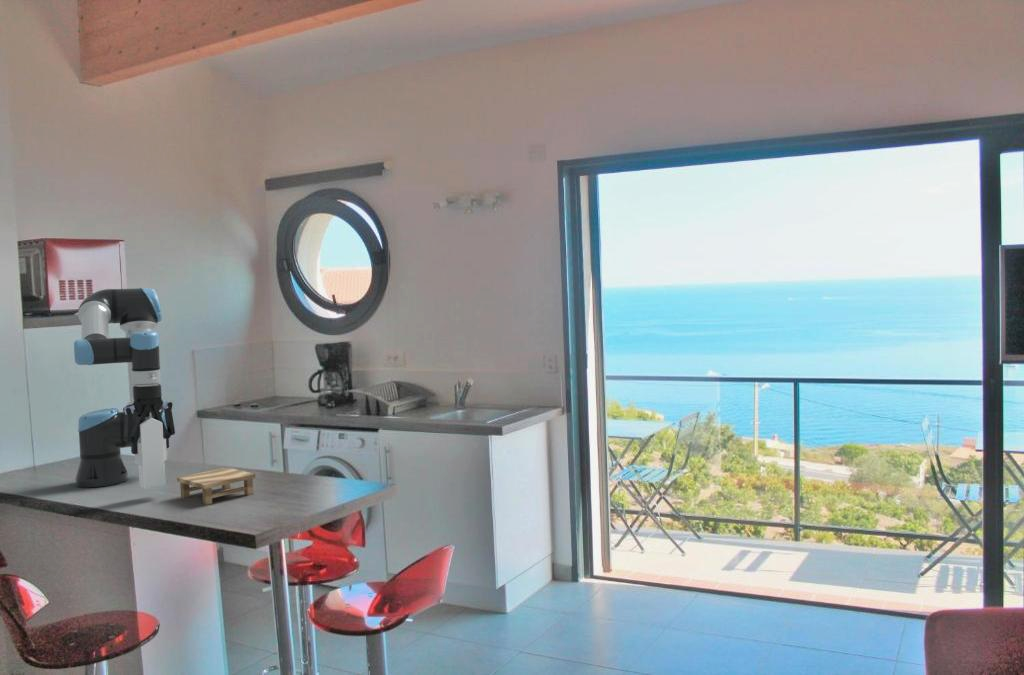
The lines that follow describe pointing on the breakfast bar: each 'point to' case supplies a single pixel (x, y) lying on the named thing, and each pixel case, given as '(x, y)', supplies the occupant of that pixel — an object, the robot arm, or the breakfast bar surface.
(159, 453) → the milk
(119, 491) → the breakfast bar surface
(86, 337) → the robot arm
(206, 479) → the light brown square platform
